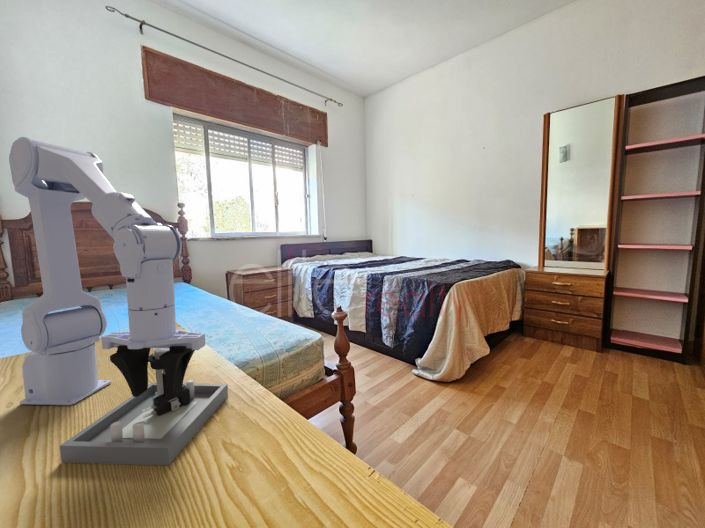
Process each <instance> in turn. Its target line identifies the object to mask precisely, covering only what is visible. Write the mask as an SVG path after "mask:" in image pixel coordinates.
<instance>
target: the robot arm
mask: <svg viewBox="0 0 705 528" xmlns="http://www.w3.org/2000/svg"><path fill="white" fill-rule="evenodd" d="M8 161H9V168H10V173H11V181H12V184H13V187H14V191H15V192H16V193H17V194H20V195H21V196H24V197H25V198H28V199H27V200H28V205H29V208H30V214H31V221H32V227H33V234H34V238H35V239H34V240H35V245H36V246H35V247H36V253H37V259H38V267H39V273H40V279H41V287H42V293H43V294H41V296H39V297H37V298H36V299H35V300H34V301H33V302H31V303H29V304H28V305H27V306H26V307H25V308H23V309H22V312H21V316H22V325H21V328H20V333H21V339H22V343H23V345H24V347H26V349H27V350H29V351H30V352H29V353H28V354H27V356H26V357H25V359H24V360H23V364H22V367H21V368H22V369H21V370H22V378H23V379H22V380H23V389H24V391H23V392H24V399H22V400H20V401H19V404H20V405H37V406H39V405H42V406H43V405H45V406H46V405H48V406H49V405H50V406H52V405H53V406H73V405H75V404H77V403H78V402H81V401H82V400H83V399H85V398H87V397H89V396H90V395H92V394H94V393H95V392H97V391H99V390H101V389H103V388H104V387H106V386H108V385H110V384H112V380H110V379H99V373H98V362H97V361H98V359H97V348H96V343H97V342H100V337H101V349H102V350H110V349H113V348H117V350H116V351H115V352H114V353H112V354H111V355H110V356H109V361H110V362H111V363H112V364H113V365H114V366H115V367H116V368H117V369H118V370H119V371H120V373H121V374H122V376H123V377H124V379H125V381H126V383H127V385H128V388H129V390H130V392H131V394H132V395H131V396H133V397H138V396H139V395H141V394H142V393H143V392H145V391H146V390H147V388H148V385H149V372H148V370H149V368H148V367H149V362H148V357H149V356H150V354H151V353H150V352H151V349H156V348H170V351H167V352H165V353H164V354H162V355H160V356H159V359H160V361H161V363H162V365H163V368H164V371H165V375H166V382H167V393H168V396H169V397H175V396H176V395H177V394H178V393H179V392H181V390H182V384H183V382H184V379H185V376H186V375H185V374H186V371H187V369H188V366H189V363H190V361H191V358H192V357H193V354H194V353H195V351H199V350H201V349H202V348H204V347H205V346H206V333H205V332H203V333H202V332H194V331H187V330H181V329H177V322H176V300H175V282H174V263H173V262H175V261H176V260H177V259H178V258H179V257H180V254H181V251H182V240H181V237H180V235H179V233H178V232H177V231H176V229H175V227H174V226H173V225H170V224H162V223H161V222H156V221H155V220H154V219H153V218H152V216H151V215H150V214H148V212H147V211H145V209H144V208H143V207H142V206H141V205H139V203H138V202H137V201H136V198H135V197H134V196H133V195H132V194H130V193H124V192H119V191H117V190H116V189H115V188H114V187H113V186H112V184H111V183H110V181H109V180H108V179H107V177H106V176H105V175H104V165H103V161H102V159H100V158H99V157H98V155H97V154H95V153H93V152H91V151H83V150H79V149H73V148H69V147H66V146H61V145H56V144H51V143H47V142H43V141H38V140H35V139H31V138H28V137H26V136H25V137H24V136H20V137H18V138H17V139H16V140H14V141H13V142H12V145H11V148H10V152H9V154H8ZM85 199H87V200H88V201H89V202H90V203H92V205H91V215H92V216H93V218H94V219H95V220H96V221H97V222H98V224H99V225H100V226H101V227H102V228H103V230H105V231H106V232H107V234H109V236H110V237H111V238H112V240H114V242H113V244H112V247H113V248H112V249H113V252H114V256H115V258H116V260H117V262H118V264H119V271H120V274H121V276H122V277H123V278H125V284H126V285H125V286H126V298H127V313H128V314H127V315H128V330H129V331H121V332H120V331H119V332H118V331H117V332H110V333H108V334H105V335H104V333H105V331H106V330H107V325H108V320H107V316H106V314H105V311H104V310H103V308H102V303H101V300H100V299H99V298H98V297H96V296H94V295H93V294H90V293H87V292H86V291H84V290H83V285H82V278H81V272H80V265H79V257H78V251H77V245H76V238H75V231H74V224H73V218H72V211H71V205H72V204H73V203H74V202H77V201H81V200H85ZM75 307H77V308H75ZM69 308H73V309H69ZM65 309H68V310H65ZM59 310H61V311H59ZM54 311H55V312H54Z"/></svg>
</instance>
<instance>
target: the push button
mask: <svg viewBox="0 0 705 528" xmlns="http://www.w3.org/2000/svg"><path fill="white" fill-rule="evenodd" d="M167 351H170V348H154V350H153V353H152V354H151V353H150V354H149V357H148V363H150V364H149V366H150V367H151V369H152V370H155V380H156V381H155V383H157V392H156V396H154V397H153V398H152V401H153V405H152V406H149V407H148V408H146V409H148V410H150V409H153V411H151V412H150V413H148V414H145V415H143V416H142V417H143V418H145V417H148V416H150V415H154V414H157V415H158V416H161V415H163V414H165V413H167V412H170V411H174V410H177V409H178V408H179V407H181V406H183V405H188V404H189V403H190V392H189V389H188V388H186V387H185V386H184V385H185V383H186V382H184V381H183V384H182V390H181V392H179V393H178V394H177V395H176V396H175V397H169V396H168V393H167V382H166V375H165V371H164V368H163V365H162V363H161V361H160V359H159V356H160V355H162V354H164V353H165V352H167ZM146 409H143V410H142V411H143V412H146V411H148V410H146ZM146 415H148V416H146Z"/></svg>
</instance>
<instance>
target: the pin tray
mask: <svg viewBox="0 0 705 528" xmlns="http://www.w3.org/2000/svg"><path fill="white" fill-rule="evenodd" d="M184 383H185V385H184V386H185V387H186V388H188V389H189V392H190V403H189V404H188V405H183V406H181V407H179V408H178V409H177V410H174V411H170V412H167V413H165V414H163V415H161V416H158V415H157V414H154V415H150V416H148V415H146V416H148V417H145V418H143V417H142V416H143V415H145V414H148V413H150V412H151V411H153V409H150V410H148V409H146V408H148V407H149V406H152V405H153V401H152V398H153V397H154V396H156V392H157V382H150V383H148V388H147V390H146V391H145V392H143V393H142V394H141V395H139V396H138V397H133V395H131V396H130V397H128V398H127V399H125V400H124V401H123V402H122V403H120V404H118V405H117V406H116V407H114V408H112V409H110V411H108V412H107V413H105V414H104V415H102V416H100V418H98V419H96V420H95V421H93V422H92V423H91V424H89V425H88V426H87V427H84V428H83V429H82V430H80V431H79V432H77V433H76V434H75V435H74V436H73V435H72V437H70V438H69V439H67V440H66V441H64V442H63V443H61V444H60V445H59V453H60V462H61V463H62V464H63V463H64V464H65V463H66V464H98V465H99V464H101V465H102V464H103V465H105V464H108V465H141V466H142V465H143V466H144V465H145V466H170V465H171V463H172V462H173V461H174V460H176V458H177V457H178V456H179V455H180V453H181V452H182V451H183V449H185V447H186V446H187V445H188V444H189V443H190V442H191V440H192V439H193V438H194V437H195V436H196V434H197V433H198V432H199V431H200V430H201V428H202V427H203V426H204V425H205V424H206V423H207V421H208V420H210V418H211V417H212V415H213V414H214V413H215V412H216V411H217V410H218V408H219V407H221V405H222V404H223V402H224V401H225V400H226V399H227V398H228V396H229V393H228V390H229V387H228V386H229V385H228V383H197V382H196V383H195V380H194V379H189V380H187V381H185V382H184ZM143 409H146V410H148V411H146V412H143V411H142V410H143Z"/></svg>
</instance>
